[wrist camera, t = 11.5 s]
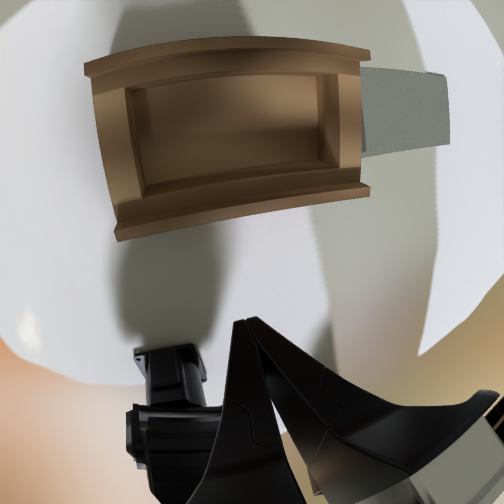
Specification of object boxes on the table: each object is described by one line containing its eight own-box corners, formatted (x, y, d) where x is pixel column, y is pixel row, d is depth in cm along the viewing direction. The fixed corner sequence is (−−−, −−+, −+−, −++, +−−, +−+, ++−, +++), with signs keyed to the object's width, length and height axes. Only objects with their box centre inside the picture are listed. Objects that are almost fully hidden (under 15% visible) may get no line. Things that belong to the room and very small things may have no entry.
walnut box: (334, 178, 21) (369, 196, 17) (128, 212, 18) (117, 242, 14) (331, 57, 16) (369, 50, 12) (104, 74, 13) (83, 63, 9)
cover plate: (444, 142, 23) (459, 147, 21) (342, 158, 21) (358, 164, 19) (440, 76, 19) (456, 78, 17) (330, 67, 17) (346, 65, 15)
